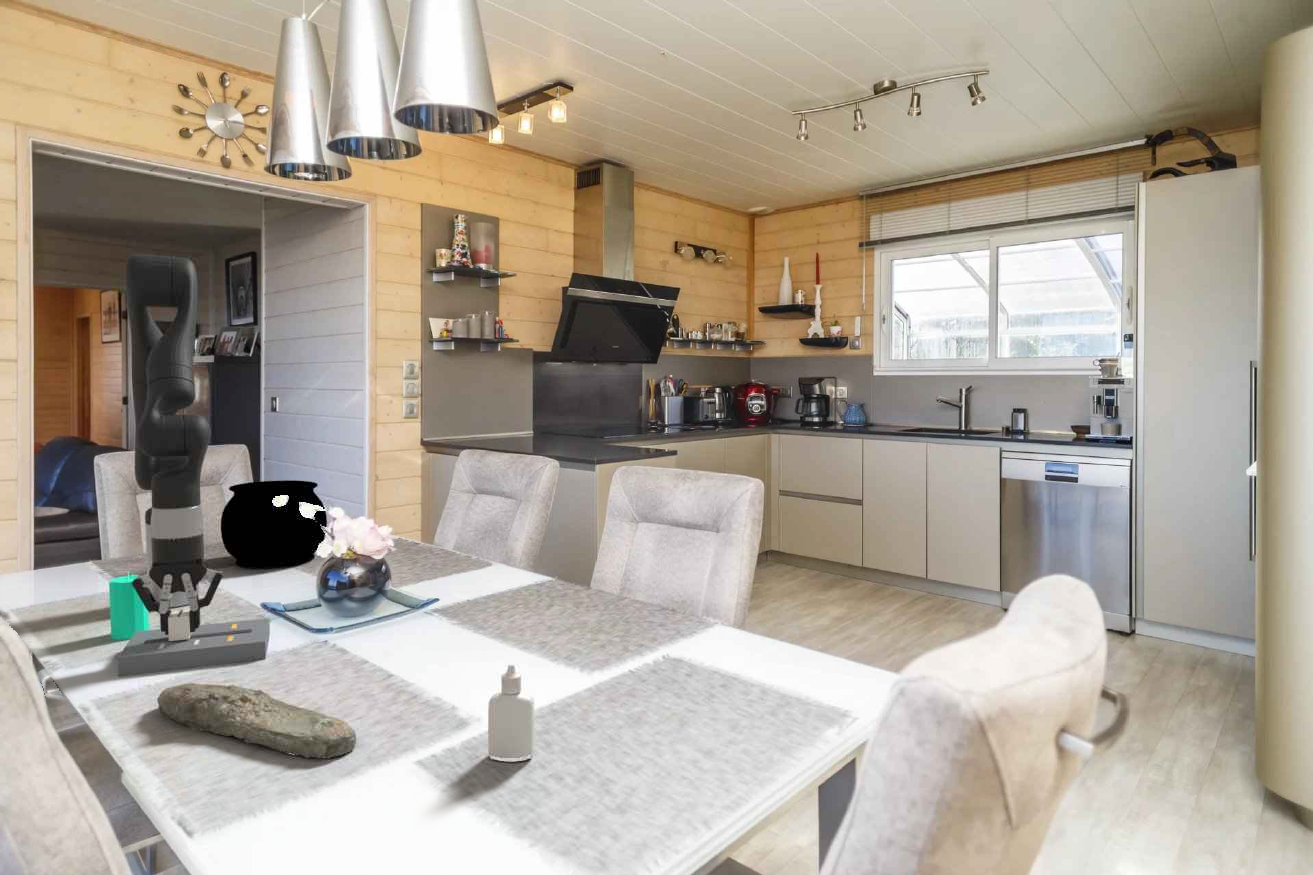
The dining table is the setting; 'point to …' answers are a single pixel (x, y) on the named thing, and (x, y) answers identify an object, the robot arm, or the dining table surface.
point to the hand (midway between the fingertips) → (180, 631)
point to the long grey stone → (257, 719)
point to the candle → (126, 609)
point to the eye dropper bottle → (511, 719)
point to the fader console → (195, 647)
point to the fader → (179, 625)
